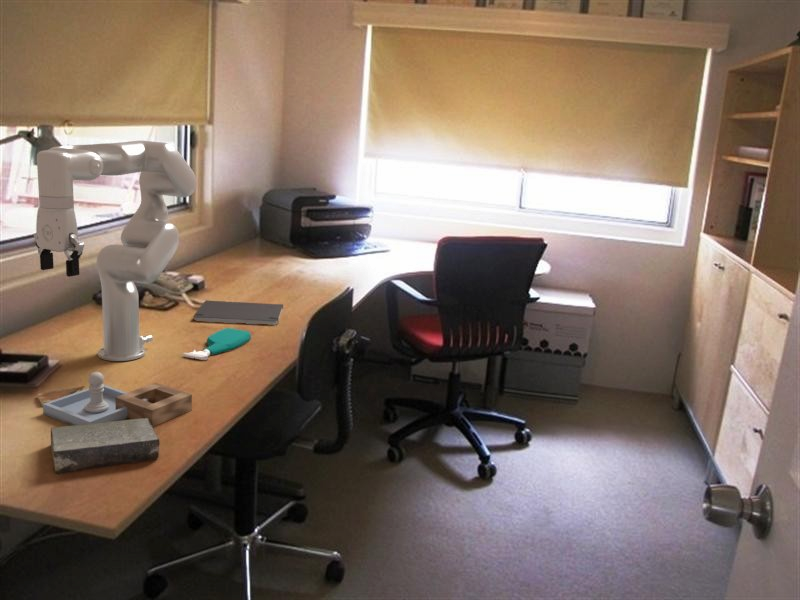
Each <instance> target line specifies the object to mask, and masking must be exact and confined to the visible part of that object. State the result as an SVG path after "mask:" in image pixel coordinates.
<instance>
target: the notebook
mask: <svg viewBox="0 0 800 600" xmlns="http://www.w3.org/2000/svg"><path fill="white" fill-rule="evenodd" d="M283 309H284V304H279V303H277V304H276V303H260V302H241V301H240V302H239V301H223V300H221V301H220V300H205V301H204V302H203V303H202V304H201V305H200V307H199V308H198V310H197V311H196V312H195V313H194V315H193V320H196V321H207V322H206V323H215V322H228V323H227V324H236V323H246V324H245V325H257V324H268V325H267V326H277V325H278V324H279V319H280V316H281V314H282V311H283ZM196 321H195V322H196ZM208 321H209V322H208ZM276 324H277V325H276Z"/></svg>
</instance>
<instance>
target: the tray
mask: <svg viewBox="0 0 800 600" xmlns="http://www.w3.org/2000/svg"><path fill="white" fill-rule="evenodd" d="M102 384H103V385H104V391H103V400H104V401H105V402H107V403H108V404H109V408H108V409H107V410H106V411H103V412H99V413H90V412H87V411H85V409H84V406H85V405H86V404H87V403H89V402H90V401H91V400H90V393H89V388H85V389H83V390H82V391H79V392H76V393H73V394H70V395H67V396H65V397H62V398H59V399H56V400H53V401H50V402H47V403H44V404H43V406H42V411H43V412H42V414H43V415H45V416H47V417H49V418H53V419H55V420H57V421H60V422H63V423H65V424H66V425H67V424H68V425H69V426H73V425H83V424H93V423H102V422H112V421H122V420H127V419H129V418H128V408H127V407H122V408H120V409H117V410H116V404H115V397H118V396H120V395H123V394H126V393H128V392H127V391H124V390H120V389H118V388H115V387H112V386H110V385H107V384H104V383H102ZM142 400H144V401H147V402H148V400H147V399H142Z"/></svg>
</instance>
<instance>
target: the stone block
mask: <svg viewBox="0 0 800 600" xmlns="http://www.w3.org/2000/svg"><path fill="white" fill-rule="evenodd" d="M160 443H161V442H160V438H159V436H158V434H157V433H156V431H155V429H154V427H152V425H151V424H150V422H149V419H148V418H145V419H144V418H141V419H130V418H129V419H124V420H121V421H112V422H102V423H93V424H83V425H73V426H72V425H65V426H56V427H51V428H50V448H51V454H52V459H53V465H54V466H53V467H55V468H54V472H55V475H60V474H61V473H62V474H68V473H69V474H70V473H75V472H79V471H80V472H81V471H87V470H92V469H94V470H95V469H100V468H101V467H102V468H107V466H108V467H114V466H122V465H128V464H130V465H131V464H136V463H137V464H138V463H143V462H149V461H154V460H157V459H159V455H160V454H159V453H160V450H159V449H160V445H161V444H160ZM121 464H122V465H121ZM102 468H101V469H102Z"/></svg>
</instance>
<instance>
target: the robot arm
mask: <svg viewBox="0 0 800 600" xmlns="http://www.w3.org/2000/svg"><path fill="white" fill-rule="evenodd" d="M36 170H37V184H38V185H37V187H38V205H39V206H38V208H37V212H36V221H35V222H36V225H35V231H36V232H35V233H33V238H34V241H35V246H36V248H37V253H38V254H39V263H40V270H41V271H46V270H51V269H54V253H53V252H57V253H62V252H63V253H64V255H65V258H66V260H65V271H66V274H65V275H66V277H69V278H70V277H74V276H79V275H80V260H81V257H82V255H83V251H84V249H85V244H84V242H83V241H82V240H81V239H79V233H78V223H77V218H76V212H75V204H74V203H75V200H74V181H85V182H90V181H93V180H96V179H98V178H99V177H100V176H106V177H107V176H108V177H109V176H110V177H111V176H112V177H113V176H115V177H117V176H125V175H129V174H134V173H135V174H136V173H140V174H139V179H138V180H139V181H138V182H139V189H140V190H139V191H140V204H139V206H138V207H137V209H136V211H135V212H134V214H133V215H132V216H131V217H130V218H129V220H128V222H127V224H126V225H125V226H124V228H123V230H122V232H121V235H120V241H121V243H122V244H109V245H106V246H103V248H101V249H100V250H99V252H98V254H97V256H96V268H97V271H98V275H99V281H100V283H101V284H100V285H101V286H100V287H101V307H102V308H101V309H102V311H101V312H102V333H103V334H102V335H103V336H102V337H103V347H101V348H99V349H98V350H97V357H99V358H100V359H102V360H105V361H109V362H110V361H111V362H128V361H133V360H136V359H139V358H142V357H143V356H145V354H146V348H145V347H144V344H148V343H151V342H152V341H153V339H154V338H153V336H152V335H150V334H149V335H145V336H144V337H143V335H140V311H139V309H140V307H139V306H140V305H139V304H140V303H139V301H140V300H139V299H140V298H139V291H138V289H137V286H136V284H135V283H138V284H151V283H154V282H156V280H158V278H160V276H161V275H162V273H163V272H164V270H165V268H166V267H167V265H168V264H169V262H170V261H171V259H172V258H173V257H174V255H175V254H176V251H177V250H178V249H177V248H178V247H179V241H180V235H179V230H178V227H176V226H175V224H173V223H171V222H169V221H168V218H169V210H168V207H167V205H166V203H165V200H164V196H168V197H178V198H187V197H188V198H189V197H190V196H191V195H193V194H194V193H195V191H196V188H197V178H196V177H197V176H196V174H195V173H194V171H193V169H192V168H191V166H190V165H189V164H188V162H187V161H186V160H185V158H184V157H183V156H182V154H181V153H180V152H179V151H178V150H177V148H176V147H174V146H173V145H172V144H171V143H168V142H161V141H151V140H133V141H132V140H130V141H124V142H123V141H121V142H110V143H107V142H106V143H94V144H71V145H68V144H67V145H60V146H52V147H51V148H49V149H46V150H45V149H44V150H40V151H38V153H37V154H36ZM71 252H72V253H71Z"/></svg>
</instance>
